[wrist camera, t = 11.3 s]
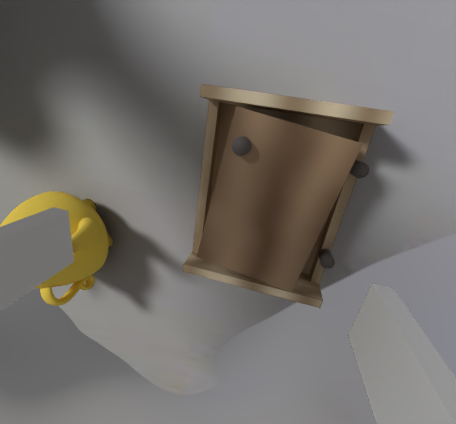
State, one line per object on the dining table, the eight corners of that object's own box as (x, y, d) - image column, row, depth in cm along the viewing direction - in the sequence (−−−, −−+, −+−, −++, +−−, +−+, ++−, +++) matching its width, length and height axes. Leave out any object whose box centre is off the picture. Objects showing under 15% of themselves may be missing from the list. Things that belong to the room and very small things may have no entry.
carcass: (198, 249, 33) (182, 271, 28) (216, 92, 26) (201, 83, 21) (315, 278, 31) (322, 308, 26) (372, 115, 24) (397, 111, 19)
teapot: (63, 282, 41) (-11, 335, 31) (17, 204, 38) (-85, 234, 27) (159, 262, 36) (107, 320, 25) (116, 167, 32) (34, 188, 21)
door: (209, 237, 31) (193, 261, 26) (244, 109, 25) (233, 105, 19) (290, 266, 30) (291, 298, 24) (347, 140, 24) (367, 144, 18)
